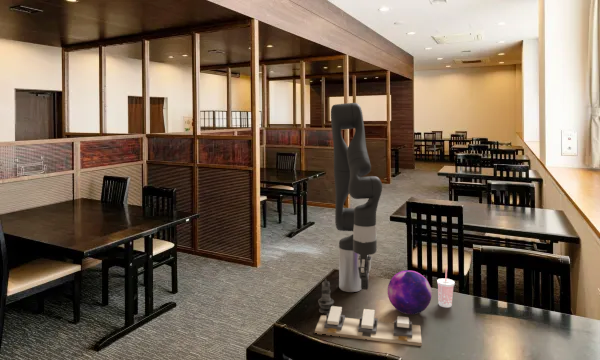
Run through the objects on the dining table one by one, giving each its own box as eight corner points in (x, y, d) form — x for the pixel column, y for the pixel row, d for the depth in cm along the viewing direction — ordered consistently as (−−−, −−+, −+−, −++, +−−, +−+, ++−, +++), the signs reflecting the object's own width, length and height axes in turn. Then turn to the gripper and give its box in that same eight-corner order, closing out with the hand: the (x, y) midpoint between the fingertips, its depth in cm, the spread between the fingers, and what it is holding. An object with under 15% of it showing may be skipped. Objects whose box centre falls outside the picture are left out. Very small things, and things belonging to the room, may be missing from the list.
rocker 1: (331, 309, 139) (331, 305, 138) (342, 310, 138) (341, 307, 137) (327, 323, 131) (327, 320, 131) (338, 325, 130) (338, 321, 130)
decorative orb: (387, 301, 153) (387, 263, 151) (428, 304, 150) (429, 265, 148) (387, 320, 138) (388, 278, 136) (433, 324, 135) (434, 281, 133)
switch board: (321, 317, 141) (321, 307, 140) (420, 328, 132) (420, 317, 132) (314, 333, 130) (314, 322, 130) (421, 346, 122) (421, 334, 121)
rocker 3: (397, 319, 133) (397, 316, 133) (408, 321, 132) (408, 317, 133) (397, 326, 126) (397, 322, 126) (409, 327, 125) (409, 323, 125)
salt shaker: (333, 306, 149) (333, 275, 148) (335, 313, 143) (334, 281, 142) (317, 307, 149) (317, 275, 147) (318, 314, 143) (318, 282, 142)
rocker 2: (363, 311, 136) (363, 308, 135) (374, 312, 135) (374, 309, 135) (361, 327, 129) (361, 324, 128) (372, 329, 128) (372, 325, 127)
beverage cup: (457, 305, 148) (458, 268, 147) (447, 309, 145) (448, 272, 143) (443, 299, 153) (444, 264, 152) (432, 303, 150) (433, 267, 148)
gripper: (356, 231, 138) (356, 280, 141) (350, 242, 125) (350, 295, 128) (378, 232, 136) (378, 282, 138) (374, 244, 123) (374, 298, 126)
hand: (364, 288), depth 133 cm, fingers closed
